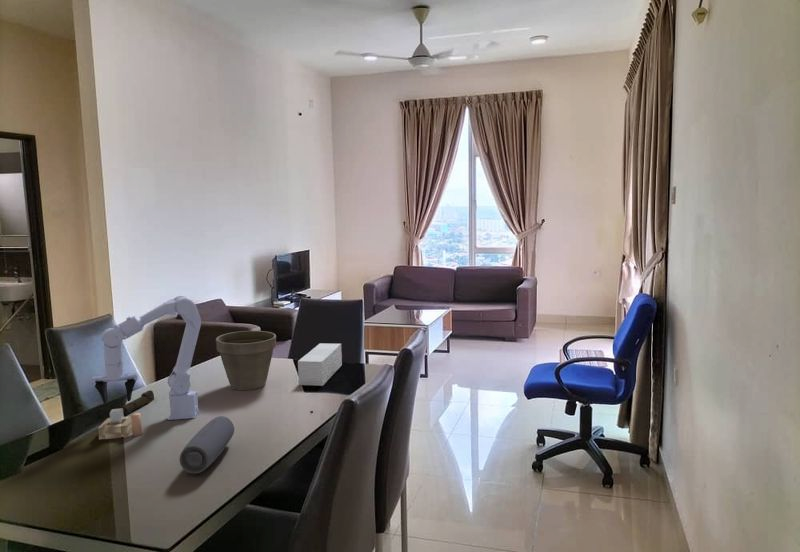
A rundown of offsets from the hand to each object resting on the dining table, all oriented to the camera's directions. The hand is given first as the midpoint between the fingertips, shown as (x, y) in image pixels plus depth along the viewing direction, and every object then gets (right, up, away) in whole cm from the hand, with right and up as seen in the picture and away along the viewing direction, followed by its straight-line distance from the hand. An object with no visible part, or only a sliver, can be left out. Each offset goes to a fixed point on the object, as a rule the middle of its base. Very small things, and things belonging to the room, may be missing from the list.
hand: (117, 401), depth 194 cm
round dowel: (+9, -10, -4) cm, 14 cm away
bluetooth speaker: (+41, -12, -25) cm, 50 cm away
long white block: (+63, -2, +61) cm, 87 cm away
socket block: (+2, -10, -3) cm, 11 cm away
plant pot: (+33, -4, +47) cm, 57 cm away
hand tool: (-4, -8, +22) cm, 24 cm away
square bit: (+2, -10, -3) cm, 11 cm away
